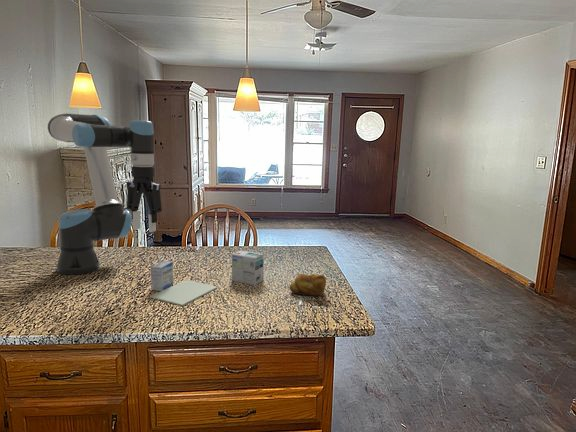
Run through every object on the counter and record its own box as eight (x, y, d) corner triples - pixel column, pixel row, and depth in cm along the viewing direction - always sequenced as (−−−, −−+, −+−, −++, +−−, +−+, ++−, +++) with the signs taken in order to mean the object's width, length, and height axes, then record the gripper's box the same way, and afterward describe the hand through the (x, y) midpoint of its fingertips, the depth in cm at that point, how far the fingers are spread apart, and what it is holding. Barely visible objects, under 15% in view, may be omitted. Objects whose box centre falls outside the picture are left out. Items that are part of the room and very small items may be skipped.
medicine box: (162, 291, 144) (161, 268, 143) (150, 290, 145) (150, 266, 144) (173, 284, 152) (173, 261, 150) (162, 282, 153) (162, 260, 151)
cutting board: (149, 297, 139) (149, 296, 139) (186, 281, 156) (186, 279, 156) (182, 306, 133) (182, 304, 133) (217, 288, 150) (217, 286, 150)
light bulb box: (263, 280, 159) (264, 253, 157) (255, 285, 153) (255, 257, 151) (240, 275, 164) (240, 249, 162) (230, 280, 158) (231, 253, 156)
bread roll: (288, 296, 145) (288, 274, 143) (291, 286, 154) (292, 266, 153) (324, 299, 143) (326, 277, 142) (325, 289, 153) (327, 268, 151)
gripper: (113, 164, 145) (116, 228, 149) (156, 168, 136) (158, 235, 141) (130, 163, 151) (132, 224, 156) (172, 167, 143) (173, 231, 147)
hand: (144, 230), depth 148 cm, fingers open, 7 cm apart
